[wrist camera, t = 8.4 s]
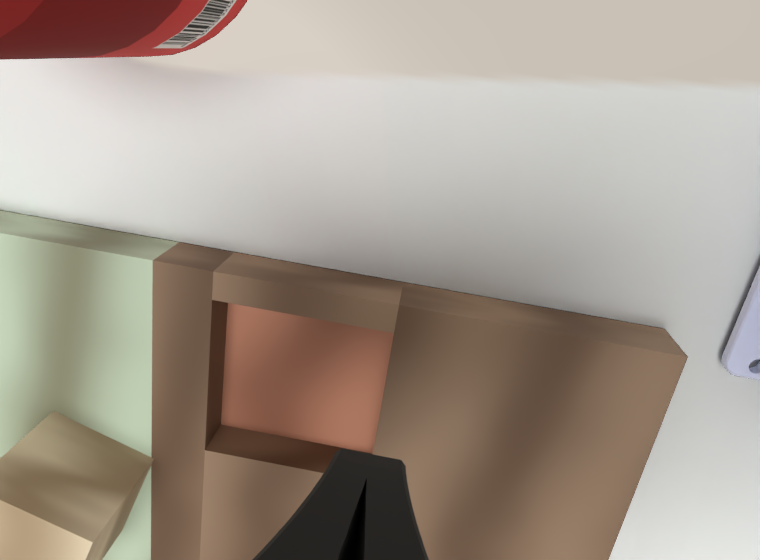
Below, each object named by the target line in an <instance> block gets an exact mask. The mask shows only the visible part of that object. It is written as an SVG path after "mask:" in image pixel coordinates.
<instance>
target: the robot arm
mask: <svg viewBox="0 0 760 560" xmlns="http://www.w3.org/2000/svg"><path fill="white" fill-rule="evenodd" d="M757 359H760V266H759V268H758V271H757V273H756V276H755V278H754V280H753V283H752V285H751V288H750V290H749V293H748V295H747V297H746V300H745V302H744V305H743V307H742V309H741V312H740V314H739V317H738V319H737V321H736V324H735V326H734V329H733V331H732V333H731V336H730V338H729V341H728V343H727V345H726V348H725V350H724V353H723V355H722V359H721V362H722V365H723V367H724V368H725V369H726V370H727V371H728V372H729V373H730V374H732V375H735V376H739V377H745V378H750V379H756V380H760V362H759V363H758V365H757V366H755V367H749V364H750V363H751V362H752V361H754V360H757ZM253 560H429V559H428V556H427V553H426V550H425V547H424V544H423V541H422V538H421V535H420V532H419V528H418V525H417V522H416V518H415V515H414V511H413V507H412V503H411V499H410V494H409V489H408V484H407V477H406V466H405V464H404V463H403V462H402V460H399V459H394V458H389V457H383V456H378V455H373V454H368V453H363V452H357V451H352V450H347V449H340V450H338V451H336V452H335V454H334V456H333V458H332V460H331V462H330V464H329V465H328V467H327V469H326V470H325V472H324V473H323V475H322V477H321V478H320V480H319V481H318V482H317V484H316V485H315V487H314V488H313V490H312V491H311V492H310V494H309V495H308V496H307V497H306V499H305V500H304V501H303V503H302V504H301V505H300V506H299V508H298V509H297V510H296V512H295V513H294V514H293V515H292V517H291V518H290V519H289V520H288V521H287V523H286V524H285V525H284V526H283V527H282V528H281V529H280V530H279V532H278V533H277V534H276V535H275V536H274V537H273V538H272V539H271V540H270V542H269V543H268V544H267V545H266V546H265V547H264V548H263V549H262V550H261V551H260V552H259V553H258V554H257V555H256V556H255V558H254V559H253Z"/></svg>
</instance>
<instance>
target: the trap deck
mask: <svg viewBox="0 0 760 560" xmlns="http://www.w3.org/2000/svg"><path fill="white" fill-rule="evenodd" d="M686 360H687V355H686V354H685V353H684V352H683V351H682V349H681V348H680V347H679V346H678V344H677V343H676V342H675V341H674V340H673V338H672V337H671V336H670V335H669V334H668V332H667V331H666V330H665V329H662V328H657V327H651V326H646V325H640V324H634V323H629V322H623V321H618V320H612V319H606V318H601V317H595V316H590V315H584V314H578V313H573V312H567V311H562V310H556V309H550V308H545V307H539V306H534V305H528V304H522V303H517V302H511V301H505V300H500V299H494V298H489V297H483V296H477V295H472V294H466V293H461V292H455V291H449V290H444V289H438V288H433V287H427V286H421V285H416V284H410V283H405V282H399V281H393V280H388V279H382V278H377V277H371V276H365V275H360V274H354V273H349V272H343V271H337V270H332V269H326V268H321V267H315V266H309V265H304V264H298V263H293V262H287V261H281V260H276V259H270V258H265V257H259V256H253V255H248V254H242V253H237V252H231V251H225V250H220V249H214V248H208V247H203V246H197V245H192V244H186V243H180V242H175V241H169V240H164V239H158V238H152V237H147V236H141V235H136V234H130V233H124V232H119V231H113V230H108V229H102V228H96V227H91V226H85V225H80V224H74V223H68V222H63V221H57V220H52V219H46V218H40V217H35V216H29V215H24V214H18V213H12V212H7V211H1V210H0V458H1V457H2V456H3V455H5V454H6V453H7V452H8V451H9V450H10V449H11V448H12V447H14V446H15V445H16V444H17V443H18V442H19V441H20V440H21V439H22V438H24V437H25V436H26V435H27V434H28V433H29V432H30V431H31V430H33V429H34V428H35V427H36V426H37V425H38V424H39V423H40V422H41V421H43V420H44V419H45V418H46V417H47V416H48V415H49V414H50V413H52V412H53V411H55V412H57V413H59V414H61V415H63V416H65V417H68V418H70V419H72V420H74V421H76V422H78V423H80V424H82V425H84V426H86V427H89V428H91V429H93V430H95V431H97V432H99V433H101V434H103V435H105V436H107V437H110V438H112V439H114V440H116V441H118V442H120V443H122V444H124V445H126V446H128V447H131V448H133V449H135V450H137V451H139V452H141V453H143V454H145V455H147V456H149V457H152V458H154V460H153V462H152V464H151V467H150V469H149V471H148V474H147V476H146V478H145V480H144V483H143V485H142V487H141V489H140V492H139V494H138V496H137V498H136V501H135V503H134V505H133V507H132V510H131V512H130V514H129V516H128V519H127V521H126V523H125V525H124V528H123V530H122V532H121V533H120V535H119V536H118V537H117V539H116V540H115V542H114V543H113V545H112V546H111V548H110V549H109V551H108V552H107V553H106V555H105V556H104V558H103V559H102V560H253V559H254V558H255V556H256V555H257V554H258V553H259V552H260V551H261V550H262V549H263V548H264V547H265V546H266V545H267V544H268V543H269V542H270V540H271V539H272V538H273V537H274V536H275V535H276V534H277V533H278V532H279V530H280V529H281V528H282V527H283V526H284V525H285V524H286V523H287V521H288V520H289V519H290V518H291V517H292V515H293V514H294V513H295V512H296V510H297V509H298V508H299V506H300V505H301V504H302V503H303V501H304V500H305V499H306V497H307V496H308V495H309V494H310V492H311V491H312V490H313V488H314V487H315V485H316V484H317V482H318V481H319V480H320V478H321V477H322V475H323V473H324V472H325V470H326V469H327V467H328V465H329V464H330V462H331V460H332V458H333V456H334V454H335V452H336V451H338V450H340V449H347V450H352V451H357V452H363V453H368V454H373V455H378V456H383V457H389V458H394V459H399V460H402V462H403V463H404V464H405V466H406V477H407V484H408V489H409V494H410V499H411V503H412V507H413V511H414V515H415V518H416V522H417V525H418V528H419V532H420V535H421V538H422V541H423V544H424V547H425V550H426V553H427V556H428V559H429V560H608V559H609V557H610V554H611V552H612V549H613V546H614V544H615V541H616V539H617V536H618V534H619V531H620V529H621V526H622V523H623V521H624V518H625V516H626V513H627V511H628V508H629V506H630V503H631V500H632V498H633V495H634V493H635V490H636V488H637V485H638V483H639V480H640V477H641V475H642V472H643V470H644V467H645V465H646V462H647V460H648V457H649V454H650V452H651V449H652V447H653V444H654V442H655V439H656V437H657V434H658V431H659V429H660V426H661V424H662V421H663V419H664V416H665V414H666V411H667V408H668V406H669V403H670V401H671V398H672V396H673V393H674V391H675V388H676V386H677V383H678V380H679V378H680V375H681V373H682V370H683V368H684V365H685V363H686Z"/></svg>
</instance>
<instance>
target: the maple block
mask: <svg viewBox="0 0 760 560" xmlns="http://www.w3.org/2000/svg"><path fill="white" fill-rule="evenodd" d="M153 460H154V458H152V457H149V456H147V455H145V454H143V453H141V452H139V451H137V450H135V449H133V448H131V447H128V446H126V445H124V444H122V443H120V442H118V441H116V440H114V439H112V438H110V437H107V436H105V435H103V434H101V433H99V432H97V431H95V430H93V429H91V428H89V427H86V426H84V425H82V424H80V423H78V422H76V421H74V420H72V419H70V418H68V417H65V416H63V415H61V414H59V413H57V412H55V411H53V412H52V413H50V414H49V415H48V416H47V417H46V418H45V419H44V420H43V421H41V422H40V423H39V424H38V425H37V426H36V427H35V428H34V429H33V430H31V431H30V432H29V433H28V434H27V435H26V436H25V437H24V438H22V439H21V440H20V441H19V442H18V443H17V444H16V445H15V446H14V447H12V448H11V449H10V450H9V451H8V452H7V453H6V454H5V455H3V456H2V457H1V458H0V560H102V559H103V558H104V556H105V555H106V553H107V552H108V551H109V549H110V548H111V546H112V545H113V543H114V542H115V540H116V539H117V537H118V536H119V535H120V533H121V532H122V530H123V528H124V525H125V523H126V521H127V519H128V516H129V514H130V512H131V510H132V507H133V505H134V503H135V501H136V498H137V496H138V494H139V492H140V489H141V487H142V485H143V483H144V480H145V478H146V476H147V474H148V471H149V469H150V467H151V464H152V462H153Z"/></svg>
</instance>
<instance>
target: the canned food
mask: <svg viewBox="0 0 760 560" xmlns="http://www.w3.org/2000/svg"><path fill="white" fill-rule="evenodd" d="M246 2H247V0H0V59H44V58H94V57H141V56H142V57H144V56H161V55H173V54H176V53H180V52H183V51H186V50H189V49H192V48H195V47H197V46H199V45H200V44H202V43H204V42H205V41H207V40H209V39H210V38H212V37H214V36H216V35H217V34H218V33H219V32H220V31H221V30H222V29H223V28H224V27H226V26H227V25H228V24H229V23H230V22H231V21H232V20H233V19H234V18H235V17H236V16H237V14H238V13H239V12H240V10H241V9H242V7H243V6H244V5H245V3H246Z"/></svg>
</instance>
